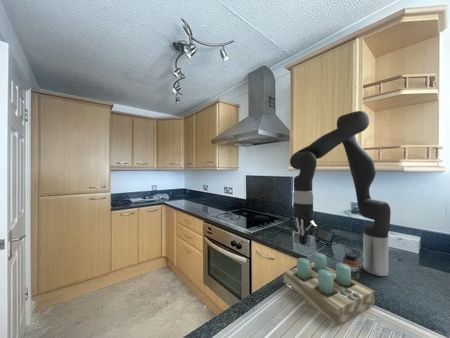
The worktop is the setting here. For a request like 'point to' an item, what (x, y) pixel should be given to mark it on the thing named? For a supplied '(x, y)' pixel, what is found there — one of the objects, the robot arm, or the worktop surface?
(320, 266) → the button
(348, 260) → the supplement bottle
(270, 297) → the worktop surface
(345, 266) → the button
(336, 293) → the console
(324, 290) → the button
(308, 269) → the button
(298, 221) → the robot arm
